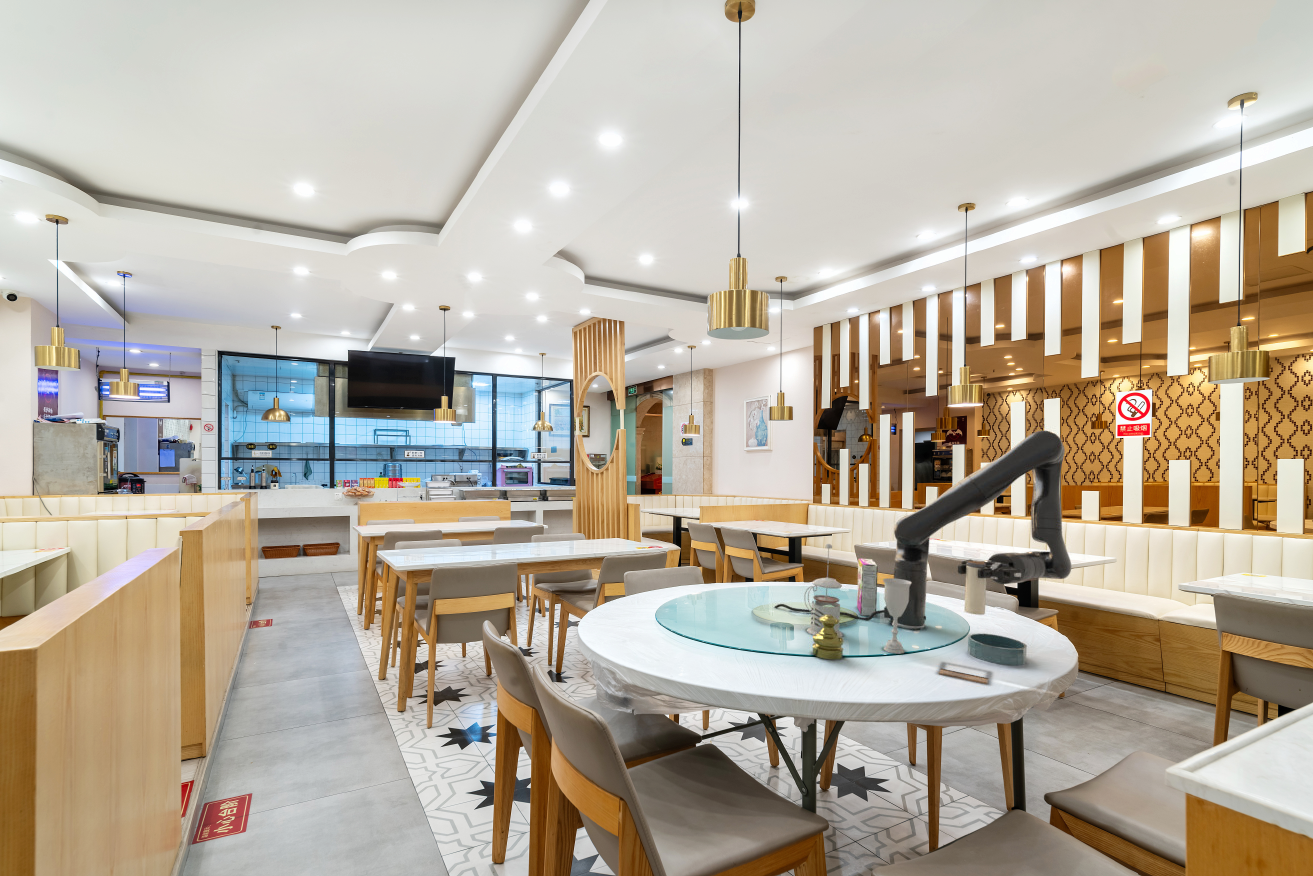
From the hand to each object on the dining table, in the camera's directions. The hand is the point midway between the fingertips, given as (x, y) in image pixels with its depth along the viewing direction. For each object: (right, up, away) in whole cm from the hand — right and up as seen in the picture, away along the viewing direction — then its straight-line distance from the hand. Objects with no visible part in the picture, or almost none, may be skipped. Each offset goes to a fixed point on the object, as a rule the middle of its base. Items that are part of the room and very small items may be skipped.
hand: (969, 571), depth 148 cm
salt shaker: (-32, -22, +6) cm, 40 cm away
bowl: (+12, -25, +11) cm, 30 cm away
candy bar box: (-7, -25, +52) cm, 58 cm away
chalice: (-13, -24, +13) cm, 30 cm away
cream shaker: (+2, -10, +1) cm, 10 cm away
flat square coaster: (-2, -24, -2) cm, 24 cm away
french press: (-28, -23, +27) cm, 45 cm away
